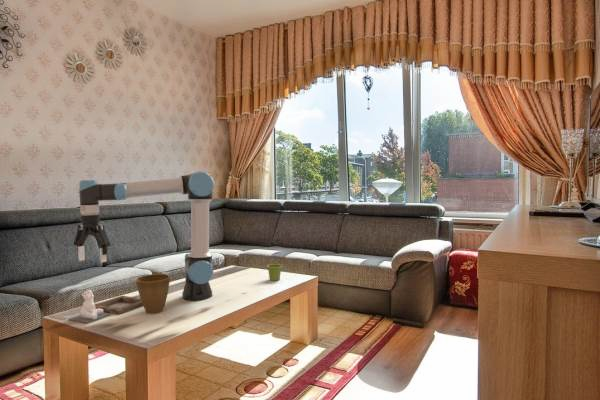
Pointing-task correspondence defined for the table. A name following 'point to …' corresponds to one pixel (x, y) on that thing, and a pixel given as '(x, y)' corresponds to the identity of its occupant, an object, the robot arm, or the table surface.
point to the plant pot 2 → (274, 271)
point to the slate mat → (85, 320)
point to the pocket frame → (113, 310)
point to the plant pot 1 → (153, 291)
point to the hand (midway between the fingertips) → (92, 261)
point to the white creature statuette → (89, 306)
